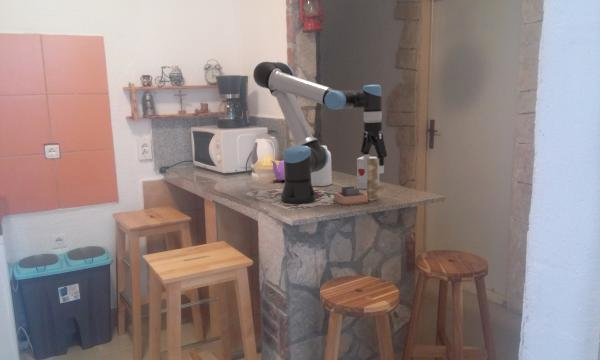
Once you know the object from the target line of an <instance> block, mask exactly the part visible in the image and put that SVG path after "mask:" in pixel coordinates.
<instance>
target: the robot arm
mask: <svg viewBox="0 0 600 360" xmlns="http://www.w3.org/2000/svg"><path fill="white" fill-rule="evenodd" d="M253 80H254V82H255V84H256V85H257V86H259V87H260V88H264V89H267V90H269V93H270V94H271V96H272V97H274V98H276V100H277V104H278V106H279V107H280V110H281V113H282V114H283V117H284V119H285V122H286V124H287V127H288V129H289V131H290V133H291V136H292V138H293V141H294V143H295V146H290V147H287V148H286V149H285V150H284V152H283V161H284V172H285V180H284V186H283V188H282V193H281V199H280V200H281V202H283V203H287V204H288V203H289V204H307V203H312V202H315V201H316V193H315V189H314V186H312V183H311V173H312V172H317V171H319V170H321V169H323V168H324V167H325V166H326V164H327V162H328V152H327V150H328V149H327V150H326V149H325V148H324V147H322V146H321V145H322V144H321V143H320V142H319V139H318V138H316V137H314V135H313V133H312V131H311V128H310V127H309V123H308V122H307V119H306V118H305V115H304V113H303V110H302V108H301V106H300V104H299V102H298V99H297V97H299V98H303V99H304V100H308V101H311V102H314V103H318V104H321V105H324V106H325V107H326V108H328V109H330V110H332V111H333V110H334V111H338V110H343V109H344V110H345V109H346V110H347V109H363V122H364V123H363V131H364V132H363V138H362V144H361V148H360V153H361V154H362V155H363V166H364V170H365V169H367V159H370V157H371V154H370V151H371V148H372V146H373V147H374V150H375V152H376V155H377V156H376V157H377V174H379V175H380V174H384V173H385V158H387V156H388V153H387V150H386V145H385V142H384V134H383V133H380V132H381V131H382V130H383V125H382V124H383V122H382V119H383V118H382V117H383V113H382V109H383V108H382V103H383V102H382V99H383V97H382V87H381V85H380V84H366V85H363V86H362V87H363V88H362V89H359V90H356V89H355V90H354V89H353V90H352V89H351V90H339V89H335V88H332V87H329V86H327V85H323V84H321V83H320V84H319V83H317V82H313V81H310V80H307V79H304V78H301V77H299V76H295V74H294V71H293V69H292V68H291V66H290V65H288V64H286V63H285V62H284V63H283V62H280V61H276V62H275V61H274V62H273V61H262V62H260V63H258V64H257V65H256V66H255V68H254V69H253ZM296 96H297V97H296ZM320 144H321V145H320Z"/></svg>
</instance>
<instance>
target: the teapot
mask: <svg viewBox="0 0 600 360" xmlns="http://www.w3.org/2000/svg"><path fill="white" fill-rule="evenodd" d="M270 162H271V163H272V171H273V175H274V174H275V176H274V177H275V178H276V179H277V182H282V181H285V172H284V160H279V161H278V163H279V166H278V168H277V163H276V161H274V160H270Z"/></svg>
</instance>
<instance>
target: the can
mask: <svg viewBox="0 0 600 360" xmlns="http://www.w3.org/2000/svg"><path fill="white" fill-rule="evenodd" d="M321 146H322V147H324V148H325V149H326V150H327V152H328V162H327V164H326V166H325V167H324V168H323V169H321V170H319V171H317V172H312V173H311V183H312V186H313V187H326V186H330V185H332V179H333V178H332V153H331V152H330V150H329V149H328V147H327V145H322V144H321Z"/></svg>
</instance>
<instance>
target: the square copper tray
mask: <svg viewBox="0 0 600 360" xmlns="http://www.w3.org/2000/svg"><path fill="white" fill-rule="evenodd" d="M333 201H334V202H336V203H338V204H340V205H341V206H354V205H364V204H368V202H369V200H368V195H367V194H366V193H364V192H361V191H360V189H359V188H357V187H356V188H355V186H353V185H351V186H341V191H334V192H333Z"/></svg>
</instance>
